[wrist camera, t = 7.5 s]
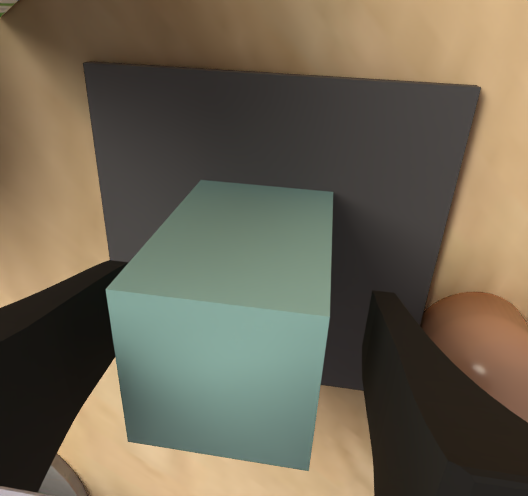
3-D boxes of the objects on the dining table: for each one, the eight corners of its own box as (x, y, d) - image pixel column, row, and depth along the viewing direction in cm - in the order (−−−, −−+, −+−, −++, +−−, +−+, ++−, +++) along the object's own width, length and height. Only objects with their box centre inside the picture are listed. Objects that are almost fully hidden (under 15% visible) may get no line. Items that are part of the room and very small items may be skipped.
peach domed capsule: (506, 381, 18) (548, 471, 14) (404, 367, 18) (420, 451, 15) (540, 298, 16) (598, 377, 12) (425, 285, 16) (449, 358, 13)
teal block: (319, 304, 17) (308, 471, 10) (203, 290, 17) (128, 441, 11) (333, 191, 14) (329, 316, 8) (200, 179, 15) (105, 289, 9)
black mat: (400, 387, 18) (401, 395, 18) (128, 349, 20) (123, 357, 19) (476, 84, 13) (481, 87, 12) (90, 61, 14) (82, 62, 14)
